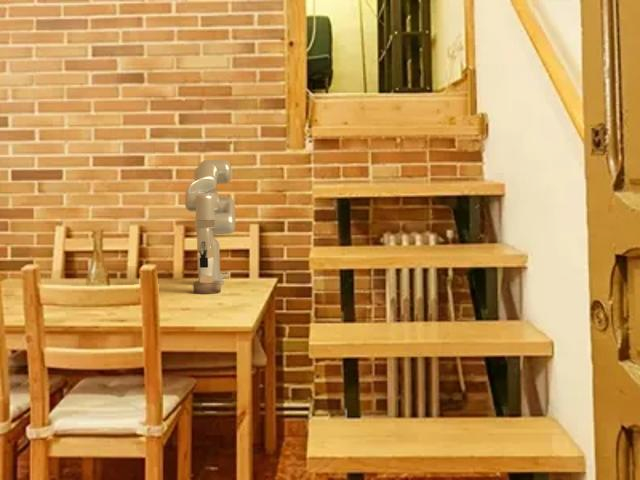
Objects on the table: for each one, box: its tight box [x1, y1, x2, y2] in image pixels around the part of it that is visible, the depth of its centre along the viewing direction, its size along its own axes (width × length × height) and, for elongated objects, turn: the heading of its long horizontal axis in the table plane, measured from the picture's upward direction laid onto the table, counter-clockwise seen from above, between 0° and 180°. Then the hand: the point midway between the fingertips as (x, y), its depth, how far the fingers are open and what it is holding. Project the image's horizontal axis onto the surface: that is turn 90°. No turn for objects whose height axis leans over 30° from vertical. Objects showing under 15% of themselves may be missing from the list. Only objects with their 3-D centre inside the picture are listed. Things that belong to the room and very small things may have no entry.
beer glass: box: [197, 246, 215, 284], centre depth 292 cm, size 7×7×15 cm
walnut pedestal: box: [192, 280, 221, 295], centre depth 293 cm, size 11×11×4 cm
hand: (206, 266), depth 292 cm, fingers open, 9 cm apart
